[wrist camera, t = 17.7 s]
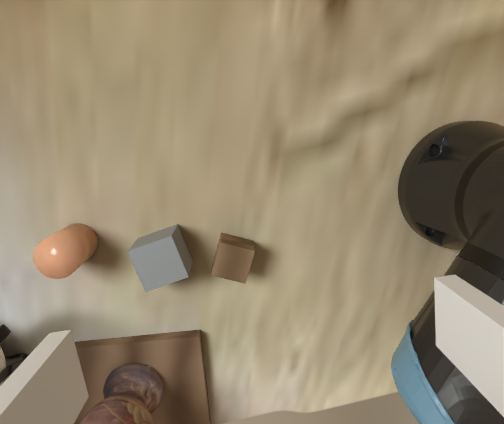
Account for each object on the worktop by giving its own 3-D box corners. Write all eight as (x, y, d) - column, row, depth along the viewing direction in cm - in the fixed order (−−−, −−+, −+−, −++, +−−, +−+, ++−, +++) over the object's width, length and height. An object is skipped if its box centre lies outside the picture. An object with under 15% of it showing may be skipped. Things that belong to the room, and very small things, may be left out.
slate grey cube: (177, 223, 44) (171, 235, 39) (192, 261, 45) (188, 277, 40) (138, 237, 44) (127, 251, 39) (154, 274, 45) (145, 292, 40)
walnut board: (200, 329, 47) (199, 336, 45) (212, 434, 50) (211, 443, 49) (56, 343, 46) (50, 350, 45) (79, 449, 50) (74, 459, 48)
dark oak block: (252, 240, 45) (255, 251, 41) (244, 270, 46) (245, 283, 42) (221, 232, 44) (220, 242, 41) (212, 262, 45) (211, 275, 41)
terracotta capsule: (94, 221, 43) (73, 236, 37) (100, 257, 44) (81, 276, 38) (56, 225, 43) (29, 239, 37) (63, 260, 44) (38, 280, 38)
